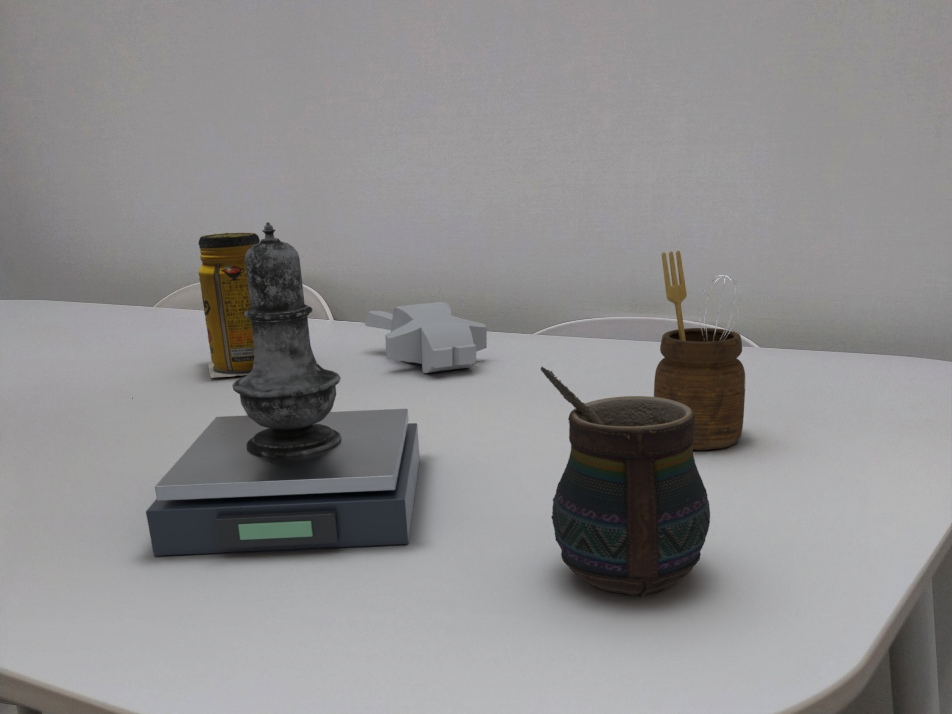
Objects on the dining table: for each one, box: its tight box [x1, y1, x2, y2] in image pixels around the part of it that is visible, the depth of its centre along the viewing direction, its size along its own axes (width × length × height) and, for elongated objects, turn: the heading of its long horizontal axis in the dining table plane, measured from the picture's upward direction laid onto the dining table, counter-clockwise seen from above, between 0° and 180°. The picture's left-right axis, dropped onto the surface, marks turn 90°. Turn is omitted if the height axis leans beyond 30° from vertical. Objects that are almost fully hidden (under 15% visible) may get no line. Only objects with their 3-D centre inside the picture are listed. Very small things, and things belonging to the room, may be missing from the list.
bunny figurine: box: [364, 301, 488, 374], centre depth 90 cm, size 10×5×15 cm
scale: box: [145, 422, 421, 557], centre depth 55 cm, size 13×15×2 cm
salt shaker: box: [232, 221, 342, 457], centre depth 53 cm, size 6×6×12 cm
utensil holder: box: [653, 250, 746, 451], centre depth 63 cm, size 6×6×12 cm
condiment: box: [198, 232, 261, 379], centre depth 88 cm, size 7×8×12 cm
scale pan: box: [154, 408, 410, 501], centre depth 55 cm, size 12×13×1 cm
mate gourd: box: [540, 366, 712, 598], centre depth 44 cm, size 7×8×10 cm
